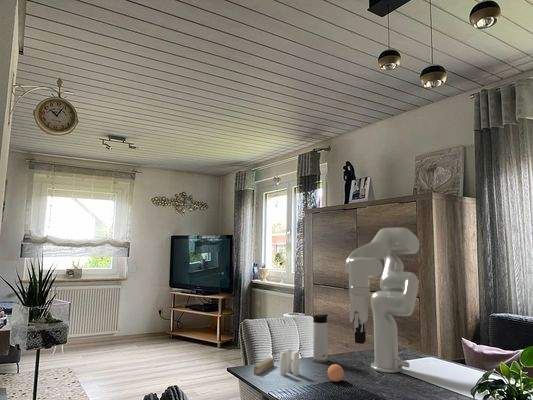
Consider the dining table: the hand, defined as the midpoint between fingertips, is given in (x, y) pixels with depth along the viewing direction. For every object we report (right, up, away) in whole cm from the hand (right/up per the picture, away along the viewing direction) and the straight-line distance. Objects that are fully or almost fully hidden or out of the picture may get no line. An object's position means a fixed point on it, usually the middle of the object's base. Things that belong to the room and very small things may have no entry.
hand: (360, 342), depth 146 cm
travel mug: (-10, -19, +30) cm, 37 cm away
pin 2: (-26, -17, +14) cm, 34 cm away
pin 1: (-28, -16, +9) cm, 34 cm away
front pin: (-23, -16, +9) cm, 30 cm away
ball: (-9, -12, +3) cm, 15 cm away
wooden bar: (-36, -17, +16) cm, 42 cm away
